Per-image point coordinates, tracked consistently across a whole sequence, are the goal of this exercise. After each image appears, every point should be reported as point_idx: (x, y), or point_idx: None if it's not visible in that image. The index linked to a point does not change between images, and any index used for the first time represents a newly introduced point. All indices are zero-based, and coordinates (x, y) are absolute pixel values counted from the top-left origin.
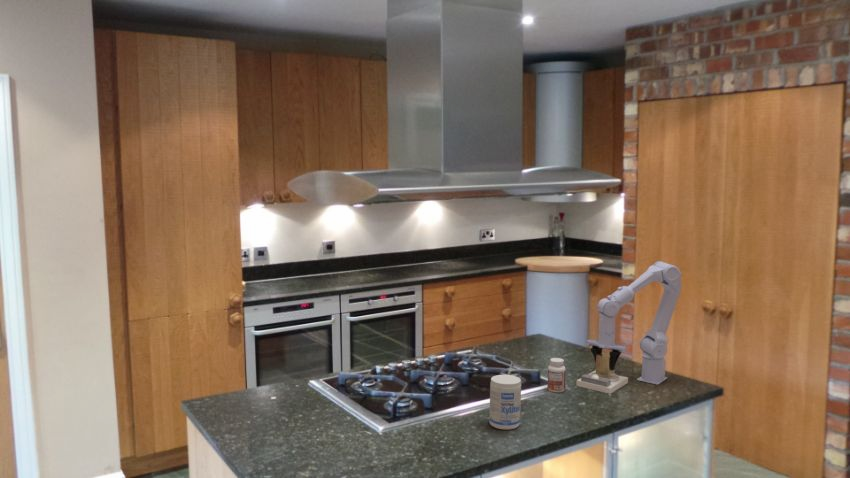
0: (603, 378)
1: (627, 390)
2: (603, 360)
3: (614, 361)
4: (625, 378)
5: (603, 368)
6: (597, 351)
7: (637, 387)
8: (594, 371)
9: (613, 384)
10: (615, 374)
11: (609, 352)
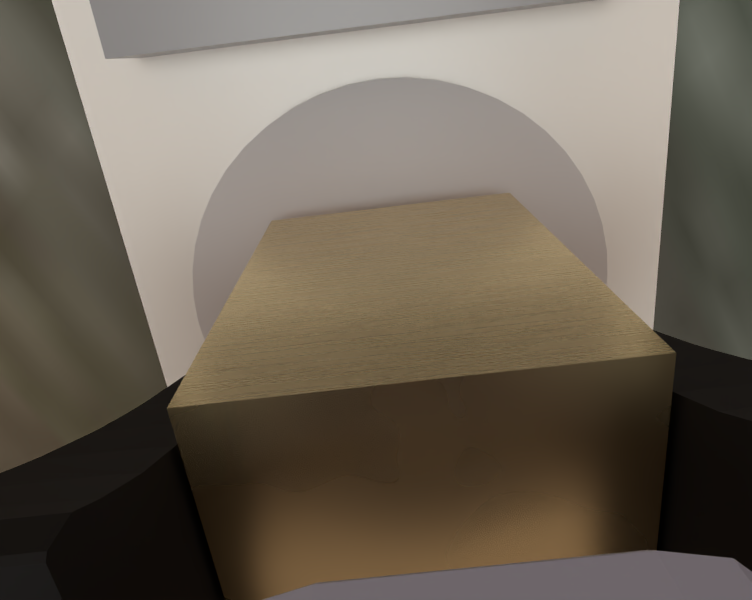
0: (246, 28)
1: (38, 230)
2: (381, 319)
3: None
4: None
5: (369, 245)
6: (737, 507)
7: (50, 398)
8: None
9: (125, 111)
10: None
11: (46, 548)
